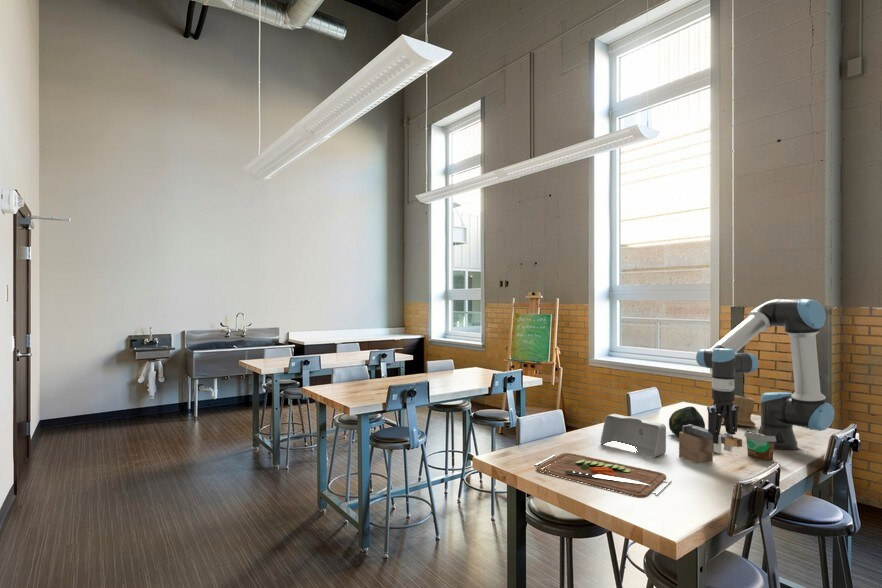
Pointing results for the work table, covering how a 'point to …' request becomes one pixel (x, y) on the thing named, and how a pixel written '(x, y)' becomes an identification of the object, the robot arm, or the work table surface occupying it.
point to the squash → (685, 419)
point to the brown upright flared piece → (744, 410)
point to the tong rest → (697, 446)
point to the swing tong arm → (710, 435)
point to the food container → (760, 445)
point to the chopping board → (604, 474)
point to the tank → (635, 434)
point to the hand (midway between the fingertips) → (722, 451)
